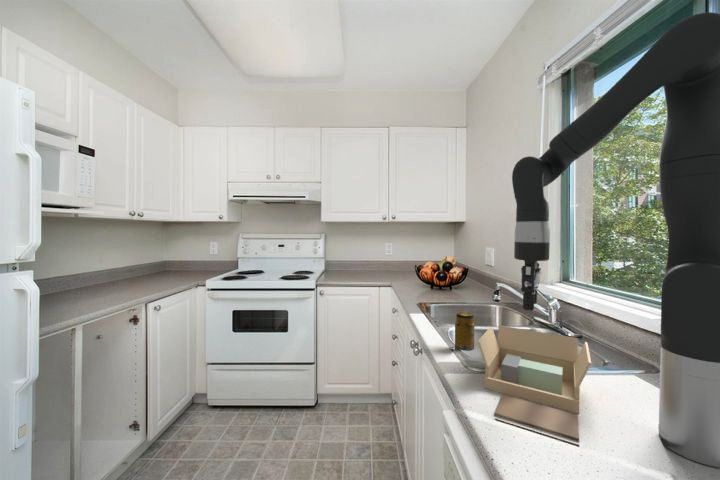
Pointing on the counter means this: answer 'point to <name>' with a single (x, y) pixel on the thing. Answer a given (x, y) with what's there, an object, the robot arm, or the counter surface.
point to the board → (539, 418)
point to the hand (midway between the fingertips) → (530, 306)
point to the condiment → (464, 332)
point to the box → (532, 374)
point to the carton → (538, 350)
